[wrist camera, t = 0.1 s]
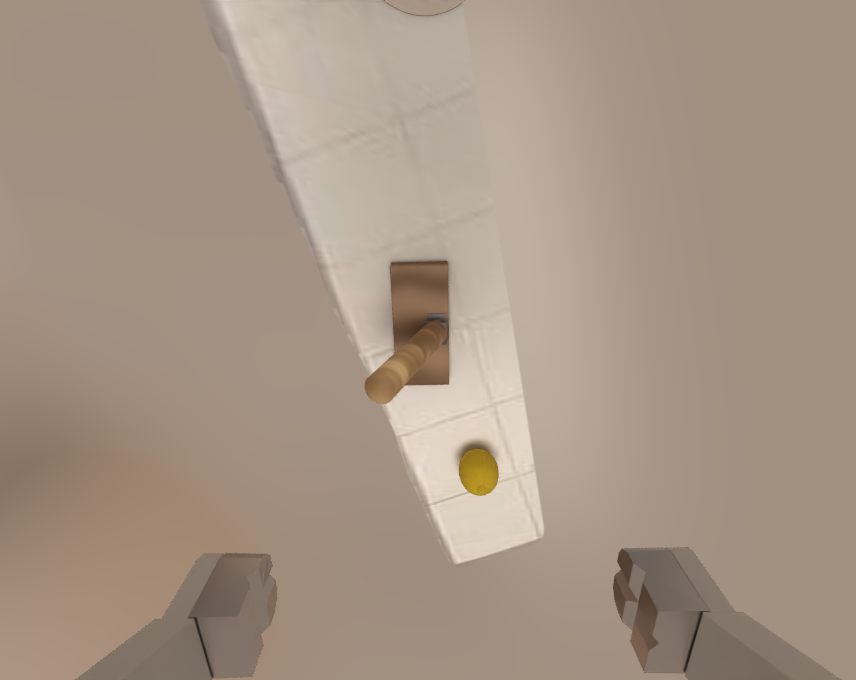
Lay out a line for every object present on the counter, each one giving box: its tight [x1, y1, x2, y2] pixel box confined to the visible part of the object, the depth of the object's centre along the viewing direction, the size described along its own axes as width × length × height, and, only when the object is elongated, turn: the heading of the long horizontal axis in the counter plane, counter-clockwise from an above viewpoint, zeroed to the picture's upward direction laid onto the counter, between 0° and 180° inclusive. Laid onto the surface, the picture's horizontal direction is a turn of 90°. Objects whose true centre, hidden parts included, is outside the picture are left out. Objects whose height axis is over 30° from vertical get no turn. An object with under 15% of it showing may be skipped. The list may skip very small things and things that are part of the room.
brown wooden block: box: [390, 261, 449, 385], centre depth 58 cm, size 16×7×3 cm, turn 1°
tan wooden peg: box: [365, 318, 447, 404], centre depth 49 cm, size 3×3×17 cm
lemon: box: [459, 449, 499, 496], centre depth 63 cm, size 6×6×8 cm
